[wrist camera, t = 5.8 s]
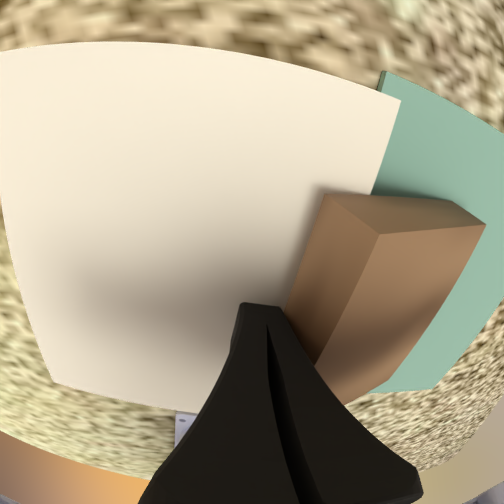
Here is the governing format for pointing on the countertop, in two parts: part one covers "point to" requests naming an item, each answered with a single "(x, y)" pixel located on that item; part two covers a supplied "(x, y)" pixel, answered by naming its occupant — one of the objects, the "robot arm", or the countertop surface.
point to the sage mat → (460, 192)
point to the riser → (167, 200)
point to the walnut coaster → (375, 283)
